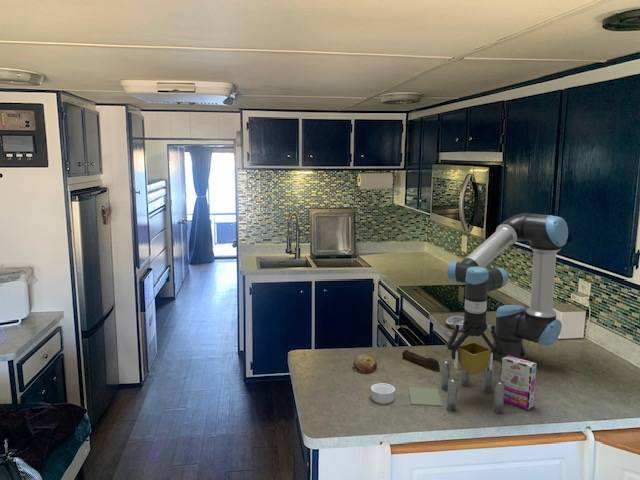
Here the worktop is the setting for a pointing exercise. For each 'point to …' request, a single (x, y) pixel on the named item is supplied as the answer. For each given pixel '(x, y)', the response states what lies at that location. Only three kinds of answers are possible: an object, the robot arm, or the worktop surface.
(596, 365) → the worktop surface
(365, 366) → the bread roll
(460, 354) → the flower pot
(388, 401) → the ramekin
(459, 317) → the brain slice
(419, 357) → the brown wood log
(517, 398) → the candy bar box
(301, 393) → the worktop surface
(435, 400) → the pad
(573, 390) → the worktop surface
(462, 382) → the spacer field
